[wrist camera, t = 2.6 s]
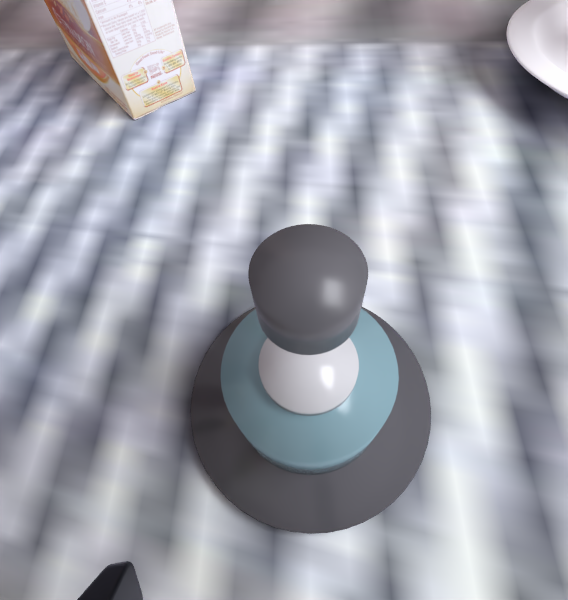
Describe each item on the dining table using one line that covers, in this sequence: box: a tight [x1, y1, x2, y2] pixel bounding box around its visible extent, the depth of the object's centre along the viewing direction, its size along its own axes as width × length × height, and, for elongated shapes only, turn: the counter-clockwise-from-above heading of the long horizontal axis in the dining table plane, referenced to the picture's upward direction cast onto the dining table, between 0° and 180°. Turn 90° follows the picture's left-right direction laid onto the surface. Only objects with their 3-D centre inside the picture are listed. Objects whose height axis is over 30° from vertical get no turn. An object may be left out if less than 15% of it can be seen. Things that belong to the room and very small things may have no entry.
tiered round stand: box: [191, 307, 431, 533], centre depth 20 cm, size 13×13×6 cm
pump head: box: [249, 224, 368, 355], centre depth 13 cm, size 3×3×3 cm
